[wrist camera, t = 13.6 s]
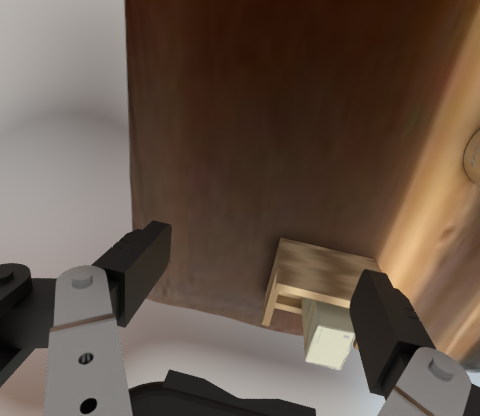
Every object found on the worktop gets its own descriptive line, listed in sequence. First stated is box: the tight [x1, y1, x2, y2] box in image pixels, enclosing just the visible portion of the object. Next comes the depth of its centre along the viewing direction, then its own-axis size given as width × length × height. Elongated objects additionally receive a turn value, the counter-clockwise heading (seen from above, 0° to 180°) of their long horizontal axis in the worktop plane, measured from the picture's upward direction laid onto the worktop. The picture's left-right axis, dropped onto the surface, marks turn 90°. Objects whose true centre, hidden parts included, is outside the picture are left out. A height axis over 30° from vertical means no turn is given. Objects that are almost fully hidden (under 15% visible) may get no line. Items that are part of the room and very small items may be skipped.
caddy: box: [262, 238, 381, 349], centre depth 39 cm, size 14×10×11 cm
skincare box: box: [301, 297, 355, 370], centre depth 38 cm, size 6×4×12 cm
